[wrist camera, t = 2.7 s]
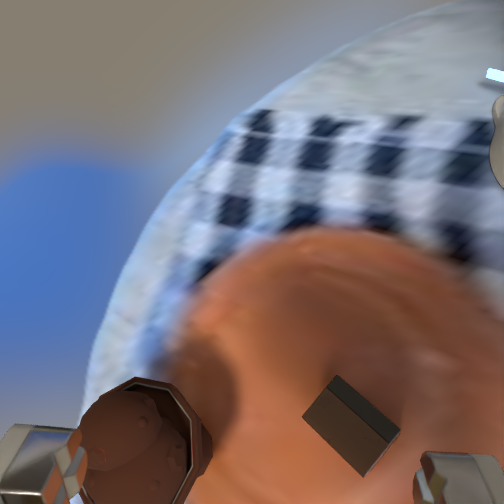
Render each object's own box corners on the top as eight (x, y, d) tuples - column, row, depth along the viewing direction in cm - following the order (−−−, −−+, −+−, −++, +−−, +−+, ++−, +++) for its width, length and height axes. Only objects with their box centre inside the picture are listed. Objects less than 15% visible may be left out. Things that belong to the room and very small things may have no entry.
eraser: (348, 388, 39) (336, 373, 31) (400, 433, 36) (401, 430, 28) (320, 423, 38) (301, 417, 31) (370, 471, 36) (363, 477, 28)
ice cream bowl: (123, 422, 44) (9, 412, 31) (216, 372, 43) (139, 340, 30) (152, 536, 39) (28, 580, 26) (258, 481, 38) (187, 498, 25)
